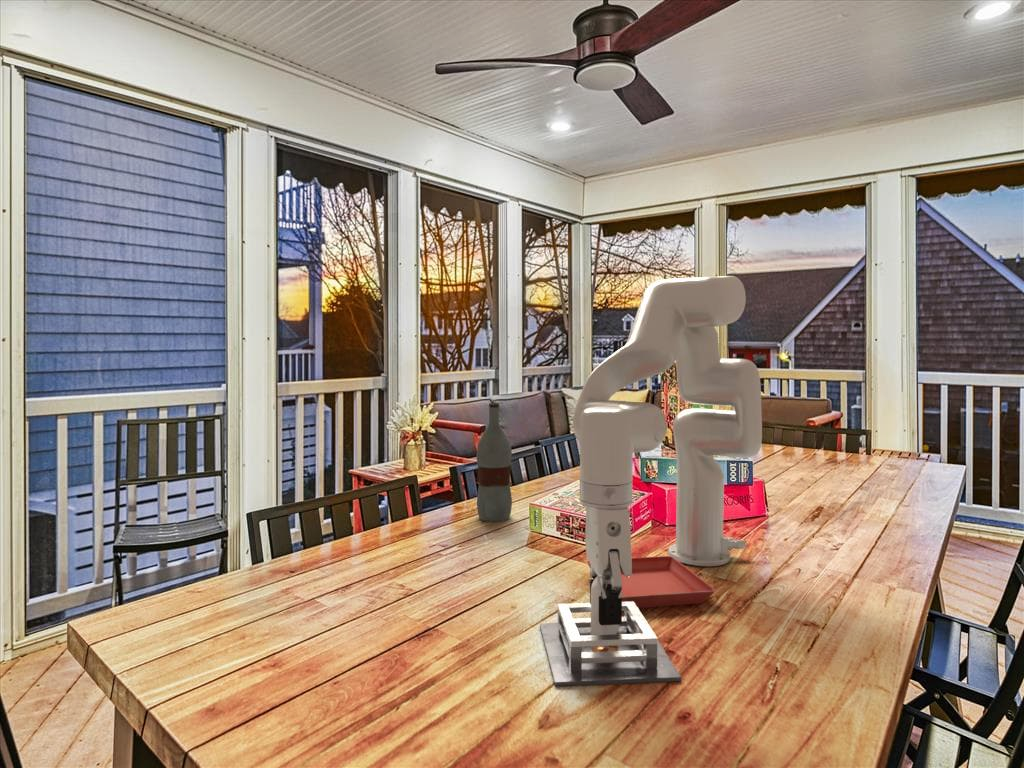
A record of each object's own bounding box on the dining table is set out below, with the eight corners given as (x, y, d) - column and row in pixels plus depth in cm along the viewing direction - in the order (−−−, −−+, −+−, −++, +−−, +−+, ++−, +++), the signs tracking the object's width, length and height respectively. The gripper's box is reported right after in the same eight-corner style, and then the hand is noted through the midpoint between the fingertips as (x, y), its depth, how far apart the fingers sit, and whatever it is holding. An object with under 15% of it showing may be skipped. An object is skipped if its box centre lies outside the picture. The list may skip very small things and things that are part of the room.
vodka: (496, 510, 165) (496, 400, 163) (519, 517, 159) (519, 403, 157) (469, 517, 159) (468, 403, 157) (492, 524, 152) (491, 405, 150)
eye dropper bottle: (580, 630, 90) (580, 551, 89) (611, 622, 92) (612, 545, 92) (598, 643, 86) (598, 560, 85) (629, 634, 88) (630, 554, 88)
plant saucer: (671, 570, 122) (671, 554, 122) (717, 608, 105) (717, 589, 105) (585, 576, 119) (585, 560, 119) (617, 616, 101) (617, 597, 101)
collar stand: (644, 623, 98) (644, 594, 98) (681, 681, 81) (681, 646, 81) (539, 627, 97) (539, 597, 97) (555, 686, 80) (555, 651, 80)
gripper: (649, 507, 79) (647, 642, 81) (616, 478, 96) (616, 589, 98) (592, 509, 79) (591, 644, 80) (570, 479, 96) (570, 591, 97)
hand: (605, 613), depth 89 cm, fingers closed on eye dropper bottle, 5 cm apart
